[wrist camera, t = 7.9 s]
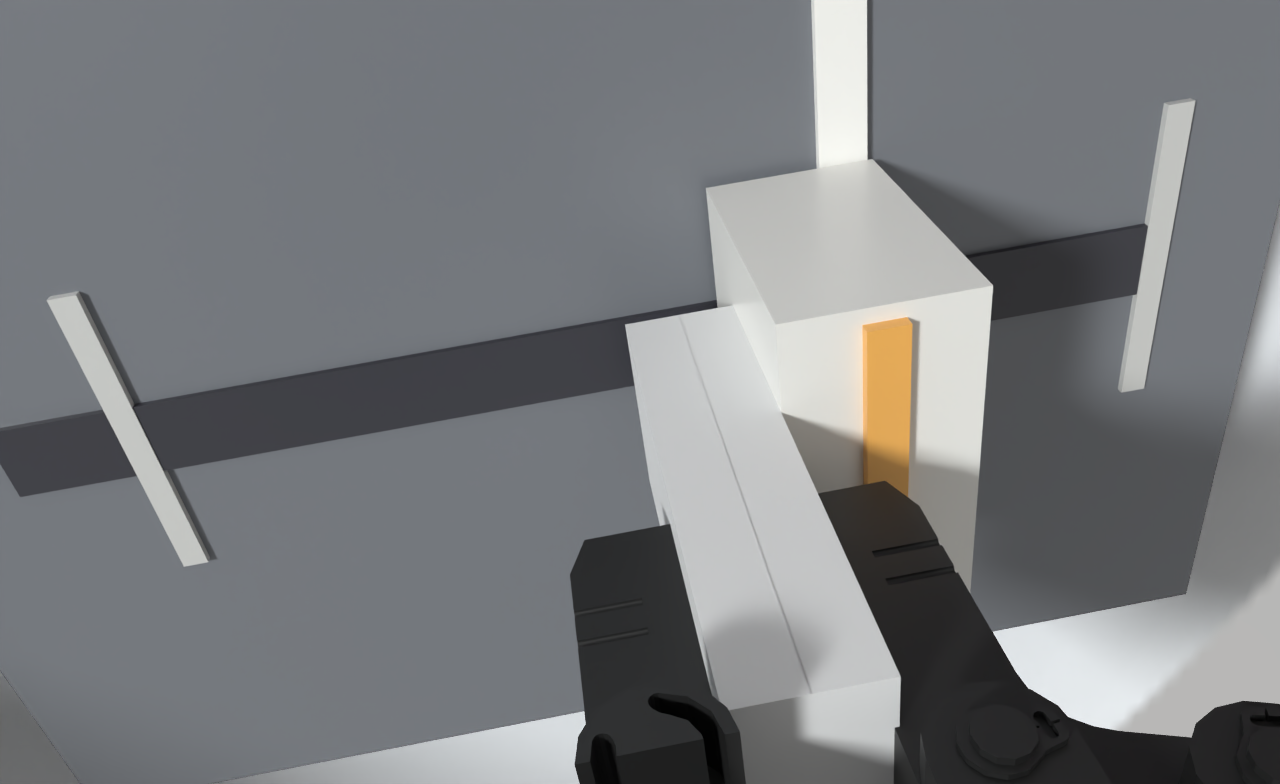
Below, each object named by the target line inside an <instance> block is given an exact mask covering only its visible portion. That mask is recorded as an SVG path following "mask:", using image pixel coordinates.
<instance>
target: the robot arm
mask: <svg viewBox="0 0 1280 784" xmlns="http://www.w3.org/2000/svg"><path fill="white" fill-rule="evenodd" d="M625 327H626V334H627V340H628V346H629V353H630V359H631V366H632V372H633V378H634V385H635V391H636V397H637V404H638V410H639V416H640V423H641V429H642V436H643V442H644V448H645V455H646V461H647V467H648V474H649V480H650V485H651V489H652V493H653V498H654V502H655V506H656V511H657V515H658V519H659V524H660V526H656V527H651V528H646V529H640V530H635V531H630V532H624V533H619V534H614V535H608V536H603V537H598V538H592V539H587V540H584V542H583V545H582V547H581V549H580V552H579V554H578V556H577V559H576V561H575V564H574V566H573V568H572V571H571V573H570V581H571V590H572V599H573V609H574V615H575V627H576V636H577V643H578V655H579V664H580V674H581V683H582V692H583V701H584V711H585V720H586V725H585V727H584V728H583V730H582V732H581V733H580V735H579V737H578V743H577V751H576V759H575V767H576V771H577V775H578V779H579V783H580V784H1280V704H1273V703H1261V702H1249V701H1241V702H1237V703H1233V704H1229V705H1225V706H1221V707H1217V708H1214V709H1213V710H1212V711H1211V712H1209V713H1208V714H1207V715H1206V716H1204V717H1203V718H1202V719H1201V720H1200V721H1198V722H1197V723H1196V725H1195V728H1194V732H1193V735H1192V738H1189V737H1179V736H1168V735H1167V736H1166V735H1155V734H1145V733H1134V732H1123V731H1116V730H1110V729H1105V728H1099V727H1094V726H1091V725H1088V724H1085V723H1083V722H1080V721H1077V720H1074V719H1072V718H1069V717H1067V715H1066V714H1065V713H1064V712H1063V711H1062V710H1061V709H1060V708H1059V706H1058V705H1056V704H1054V703H1052V702H1051V701H1049V700H1047V699H1046V698H1044V697H1042V696H1041V695H1039V694H1037V693H1036V692H1034V691H1032V690H1031V689H1028V688H1027V686H1026V685H1025V684H1024V683H1023V681H1022V680H1021V679H1020V677H1019V676H1018V675H1017V673H1016V672H1015V670H1014V668H1013V667H1012V665H1011V663H1010V661H1009V660H1008V658H1007V656H1006V654H1005V653H1004V651H1003V649H1002V648H1001V646H1000V644H999V642H998V641H997V639H996V637H995V636H994V634H993V632H992V630H991V629H990V627H989V625H988V623H987V622H986V620H985V618H984V617H983V615H982V613H981V611H980V610H979V608H978V606H977V604H976V603H975V601H974V599H973V598H972V596H971V594H970V592H969V591H968V589H967V587H966V585H965V584H964V582H963V580H962V579H961V577H960V575H959V573H958V572H957V573H956V572H955V570H954V565H953V563H952V561H951V560H950V558H949V556H948V554H947V553H946V551H945V549H944V547H943V546H942V545H940V544H939V541H938V537H937V535H936V534H935V532H934V530H933V529H932V527H931V525H930V523H929V522H928V520H927V518H926V516H925V515H924V513H923V511H922V510H921V508H920V506H919V505H918V504H916V503H915V502H914V501H912V500H911V499H910V498H908V497H907V496H905V495H904V494H903V493H901V492H900V491H899V490H897V489H896V488H895V487H893V486H892V485H891V484H889V483H888V482H886V481H881V482H875V483H870V484H865V485H859V486H854V487H849V488H844V489H838V490H833V491H828V492H822V493H817V491H816V488H815V486H814V484H813V482H812V480H811V477H810V475H809V473H808V471H807V468H806V466H805V464H804V462H803V460H802V457H801V455H800V453H799V451H798V449H797V446H796V444H795V442H794V440H793V438H792V435H791V433H790V431H789V429H788V427H787V424H786V422H785V420H784V418H783V415H782V413H781V411H780V409H779V407H778V404H777V402H776V400H775V398H774V396H773V393H772V391H771V389H770V387H769V385H768V382H767V380H766V378H765V376H764V373H763V371H762V369H761V367H760V365H759V362H758V360H757V358H756V356H755V354H754V351H753V349H752V347H751V345H750V343H749V340H748V338H747V336H746V334H745V332H744V329H743V327H742V325H741V323H740V320H739V318H738V316H737V314H736V312H735V309H734V307H733V305H731V306H726V307H720V308H715V309H709V310H704V311H698V312H692V313H687V314H681V315H676V316H670V317H665V318H659V319H653V320H648V321H642V322H637V323H631V324H625Z"/></svg>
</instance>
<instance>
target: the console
mask: <svg viewBox="0 0 1280 784" xmlns="http://www.w3.org/2000/svg"><path fill="white" fill-rule="evenodd" d="M870 159H873V160H874V161H875V162H876V163H877V164H878V165H879V166H880V167H881V168H882V169H883V170H884V172H885V173H886V174H887V175H888V176H889V177H890V178H891V179H892V180H893V181H894V182H895V183H896V184H897V185H898V186H899V187H900V188H901V189H902V190H903V191H904V192H905V194H906V195H907V196H908V197H909V198H910V199H911V200H912V201H913V202H914V203H915V204H916V205H917V206H918V207H919V208H920V209H921V210H922V211H923V212H924V213H925V215H926V216H927V217H928V218H929V219H930V220H931V221H932V222H933V223H934V224H935V225H936V226H937V227H938V228H939V229H940V230H941V231H942V232H943V233H944V234H945V235H946V237H947V238H948V239H949V240H950V241H951V242H952V243H953V244H954V245H955V246H956V247H957V248H958V249H959V250H960V251H961V252H962V253H963V254H964V255H965V256H966V258H967V259H968V260H969V261H970V262H971V263H972V264H973V265H974V266H975V267H976V268H977V269H978V270H979V271H980V272H981V273H982V274H983V275H984V276H985V277H986V278H987V280H988V281H989V282H990V283H991V284H992V285H993V294H992V308H991V321H990V335H989V348H988V362H987V375H986V388H985V402H984V415H983V429H982V442H981V456H980V469H979V482H978V496H977V509H976V523H975V536H974V550H973V563H972V576H971V590H970V594H971V596H972V598H973V599H974V601H975V603H976V604H977V606H978V608H979V610H980V611H981V613H982V615H983V617H984V618H985V620H986V622H987V623H988V625H989V627H990V629H991V630H992V631H998V630H1003V629H1008V628H1013V627H1018V626H1023V625H1028V624H1033V623H1039V622H1044V621H1049V620H1054V619H1059V618H1064V617H1069V616H1075V615H1080V614H1085V613H1090V612H1095V611H1100V610H1105V609H1110V608H1116V607H1121V606H1126V605H1131V604H1136V603H1141V602H1146V601H1152V600H1157V599H1162V598H1167V597H1172V596H1177V595H1182V594H1186V591H1187V587H1188V583H1189V579H1190V574H1191V570H1192V566H1193V562H1194V558H1195V554H1196V549H1197V545H1198V541H1199V537H1200V533H1201V528H1202V524H1203V520H1204V516H1205V512H1206V508H1207V503H1208V499H1209V495H1210V491H1211V487H1212V483H1213V478H1214V474H1215V470H1216V466H1217V462H1218V457H1219V453H1220V449H1221V445H1222V441H1223V437H1224V432H1225V428H1226V424H1227V420H1228V416H1229V411H1230V407H1231V403H1232V399H1233V395H1234V391H1235V386H1236V382H1237V378H1238V374H1239V370H1240V366H1241V361H1242V357H1243V353H1244V349H1245V345H1246V340H1247V336H1248V332H1249V328H1250V324H1251V320H1252V315H1253V311H1254V307H1255V303H1256V299H1257V295H1258V290H1259V286H1260V282H1261V278H1262V274H1263V269H1264V265H1265V261H1266V257H1267V253H1268V249H1269V244H1270V240H1271V236H1272V232H1273V228H1274V223H1275V219H1276V215H1277V211H1278V207H1279V203H1280V0H0V671H1V673H2V674H3V675H4V677H5V678H6V680H7V681H8V682H9V684H10V685H11V687H12V688H13V689H14V691H15V692H16V694H17V695H18V696H19V698H20V699H21V701H22V702H23V704H24V705H25V706H26V708H27V709H28V711H29V712H30V713H31V715H32V716H33V718H34V719H35V720H36V722H37V723H38V725H39V726H40V728H41V729H42V730H43V732H44V733H45V735H46V736H47V737H48V739H49V740H50V742H51V743H52V744H53V746H54V747H55V749H56V750H57V752H58V753H59V754H60V756H61V757H62V759H63V760H64V761H65V763H66V764H67V766H68V767H69V768H70V770H71V771H72V773H73V774H74V775H75V777H76V778H77V780H78V781H79V783H80V784H212V783H217V782H222V781H227V780H232V779H237V778H243V777H248V776H253V775H258V774H263V773H268V772H273V771H279V770H284V769H289V768H294V767H299V766H304V765H309V764H314V763H320V762H325V761H330V760H335V759H340V758H345V757H350V756H356V755H361V754H366V753H371V752H376V751H381V750H386V749H392V748H397V747H402V746H407V745H412V744H417V743H422V742H427V741H433V740H438V739H443V738H448V737H453V736H458V735H463V734H469V733H474V732H479V731H484V730H489V729H494V728H499V727H504V726H510V725H515V724H520V723H525V722H530V721H535V720H540V719H546V718H551V717H556V716H561V715H566V714H571V713H576V712H582V711H584V701H583V692H582V683H581V674H580V664H579V655H578V643H577V636H576V627H575V615H574V609H573V599H572V590H571V581H570V573H571V571H572V568H573V566H574V564H575V561H576V559H577V556H578V554H579V552H580V549H581V547H582V545H583V542H584V540H587V539H592V538H598V537H603V536H608V535H614V534H619V533H624V532H630V531H635V530H640V529H646V528H651V527H656V526H660V524H659V519H658V515H657V511H656V506H655V502H654V498H653V493H652V489H651V485H650V480H649V474H648V467H647V461H646V455H645V448H644V442H643V436H642V429H641V423H640V416H639V410H638V404H637V397H636V391H635V385H634V378H633V372H632V366H631V359H630V353H629V346H628V340H627V334H626V327H625V324H631V323H637V322H642V321H648V320H653V319H659V318H665V317H670V316H676V315H681V314H687V313H692V312H698V311H704V310H709V309H715V308H718V307H717V297H716V287H715V277H714V266H713V256H712V246H711V236H710V225H709V215H708V205H707V194H706V188H709V187H714V186H720V185H726V184H732V183H737V182H743V181H749V180H755V179H760V178H766V177H772V176H778V175H783V174H789V173H795V172H801V171H806V170H812V169H818V168H824V167H829V166H835V165H841V164H847V163H852V162H858V161H864V160H870Z"/></svg>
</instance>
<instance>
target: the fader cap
mask: <svg viewBox="0 0 1280 784" xmlns="http://www.w3.org/2000/svg"><path fill="white" fill-rule="evenodd" d="M706 194H707V205H708V215H709V225H710V236H711V246H712V256H713V266H714V277H715V287H716V297H717V307H718V308H720V307H726V306H731V305H733V307H734V309H735V312H736V314H737V316H738V318H739V320H740V323H741V325H742V327H743V329H744V332H745V334H746V336H747V338H748V340H749V343H750V345H751V347H752V349H753V351H754V354H755V356H756V358H757V360H758V362H759V365H760V367H761V369H762V371H763V373H764V376H765V378H766V380H767V382H768V385H769V387H770V389H771V391H772V393H773V396H774V398H775V400H776V402H777V404H778V407H779V409H780V411H781V413H782V415H783V418H784V420H785V422H786V424H787V427H788V429H789V431H790V433H791V435H792V438H793V440H794V442H795V444H796V446H797V449H798V451H799V453H800V455H801V457H802V460H803V462H804V464H805V466H806V468H807V471H808V473H809V475H810V477H811V480H812V482H813V484H814V486H815V488H816V491H817V493H822V492H828V491H833V490H838V489H844V488H849V487H854V486H859V485H865V484H870V483H875V482H881V481H886V482H888V483H889V484H891V485H892V486H893V487H895V488H896V489H897V490H899V491H900V492H901V493H903V494H904V495H905V496H907V497H908V498H910V499H911V500H912V501H914V502H915V503H916V504H918V505H919V506H920V508H921V510H922V511H923V513H924V515H925V516H926V518H927V520H928V522H929V523H930V525H931V527H932V529H933V530H934V532H935V534H936V535H937V537H938V541H939V544H940V545H942V546H943V547H944V549H945V551H946V553H947V554H948V556H949V558H950V560H951V561H952V563H953V565H954V570H955V572H956V573H957V572H958V573H959V575H960V577H961V579H962V580H963V582H964V584H965V585H966V587H967V589H968V591H969V592H970V590H971V576H972V563H973V550H974V536H975V523H976V509H977V496H978V482H979V469H980V456H981V442H982V429H983V415H984V402H985V388H986V375H987V362H988V348H989V335H990V321H991V308H992V294H993V285H992V284H991V283H990V282H989V281H988V280H987V278H986V277H985V276H984V275H983V274H982V273H981V272H980V271H979V270H978V269H977V268H976V267H975V266H974V265H973V264H972V263H971V262H970V261H969V260H968V259H967V258H966V256H965V255H964V254H963V253H962V252H961V251H960V250H959V249H958V248H957V247H956V246H955V245H954V244H953V243H952V242H951V241H950V240H949V239H948V238H947V237H946V235H945V234H944V233H943V232H942V231H941V230H940V229H939V228H938V227H937V226H936V225H935V224H934V223H933V222H932V221H931V220H930V219H929V218H928V217H927V216H926V215H925V213H924V212H923V211H922V210H921V209H920V208H919V207H918V206H917V205H916V204H915V203H914V202H913V201H912V200H911V199H910V198H909V197H908V196H907V195H906V194H905V192H904V191H903V190H902V189H901V188H900V187H899V186H898V185H897V184H896V183H895V182H894V181H893V180H892V179H891V178H890V177H889V176H888V175H887V174H886V173H885V172H884V170H883V169H882V168H881V167H880V166H879V165H878V164H877V163H876V162H875V161H874V160H873V159H870V160H864V161H858V162H852V163H847V164H841V165H835V166H829V167H824V168H818V169H812V170H806V171H801V172H795V173H789V174H783V175H778V176H772V177H766V178H760V179H755V180H749V181H743V182H737V183H732V184H726V185H720V186H714V187H709V188H706Z"/></svg>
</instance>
